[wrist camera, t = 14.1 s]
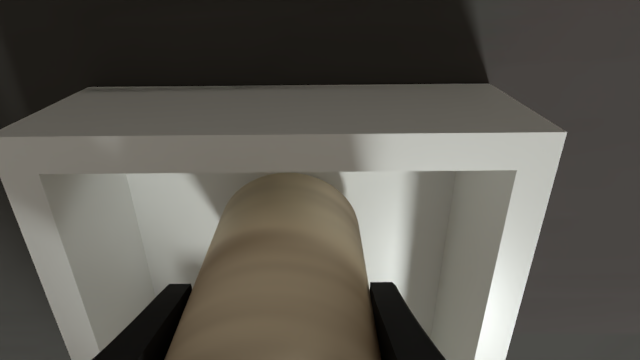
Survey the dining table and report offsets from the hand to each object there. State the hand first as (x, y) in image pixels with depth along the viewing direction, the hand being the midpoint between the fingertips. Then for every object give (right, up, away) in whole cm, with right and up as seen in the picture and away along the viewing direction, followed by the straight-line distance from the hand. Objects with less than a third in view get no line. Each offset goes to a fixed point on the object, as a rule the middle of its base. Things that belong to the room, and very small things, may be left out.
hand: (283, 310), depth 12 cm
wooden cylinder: (0, +2, +3) cm, 4 cm away
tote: (0, -1, +7) cm, 7 cm away
